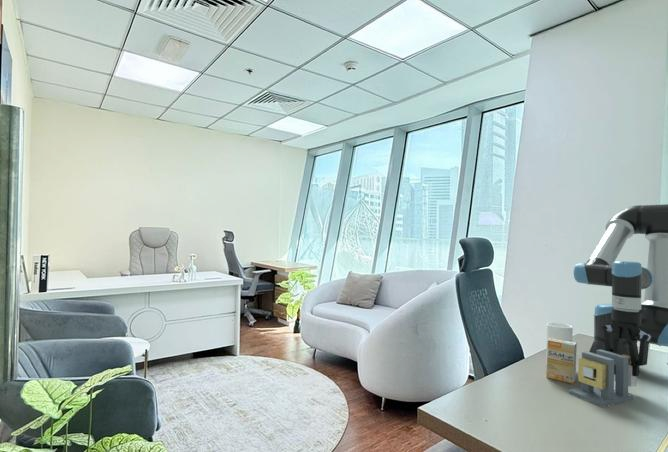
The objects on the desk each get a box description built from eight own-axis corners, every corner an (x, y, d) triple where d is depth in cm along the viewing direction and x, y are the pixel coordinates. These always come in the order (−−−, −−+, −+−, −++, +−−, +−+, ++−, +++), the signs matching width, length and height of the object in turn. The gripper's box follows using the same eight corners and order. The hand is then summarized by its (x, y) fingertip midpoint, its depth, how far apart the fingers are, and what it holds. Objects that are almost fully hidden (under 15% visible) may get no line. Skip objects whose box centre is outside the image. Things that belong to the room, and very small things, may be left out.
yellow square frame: (582, 380, 117) (582, 357, 117) (606, 388, 110) (606, 364, 111) (578, 380, 116) (578, 358, 116) (602, 389, 110) (602, 365, 110)
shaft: (623, 373, 122) (623, 354, 122) (634, 376, 119) (634, 357, 119) (582, 380, 114) (582, 360, 114) (593, 384, 111) (593, 364, 111)
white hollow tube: (575, 373, 135) (576, 328, 135) (550, 371, 136) (551, 326, 137) (566, 365, 143) (567, 323, 143) (542, 363, 144) (543, 321, 145)
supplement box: (545, 378, 129) (546, 339, 130) (548, 374, 133) (549, 337, 133) (574, 384, 124) (574, 344, 124) (576, 380, 128) (576, 342, 128)
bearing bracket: (599, 387, 122) (600, 348, 123) (634, 399, 113) (634, 357, 114) (568, 393, 117) (569, 352, 117) (602, 407, 107) (603, 362, 108)
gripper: (592, 305, 126) (591, 375, 126) (648, 315, 111) (648, 395, 111) (606, 304, 129) (605, 373, 129) (663, 314, 114) (662, 391, 114)
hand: (625, 383), depth 120 cm, fingers closed on shaft, 3 cm apart
